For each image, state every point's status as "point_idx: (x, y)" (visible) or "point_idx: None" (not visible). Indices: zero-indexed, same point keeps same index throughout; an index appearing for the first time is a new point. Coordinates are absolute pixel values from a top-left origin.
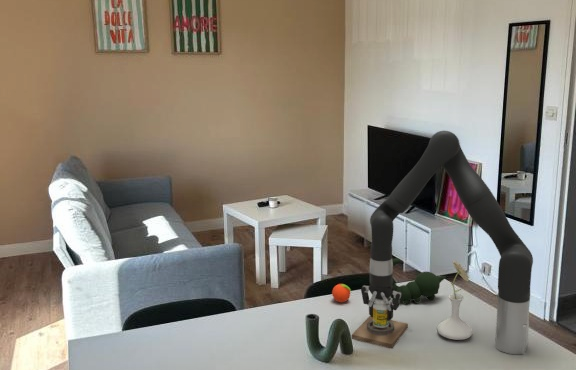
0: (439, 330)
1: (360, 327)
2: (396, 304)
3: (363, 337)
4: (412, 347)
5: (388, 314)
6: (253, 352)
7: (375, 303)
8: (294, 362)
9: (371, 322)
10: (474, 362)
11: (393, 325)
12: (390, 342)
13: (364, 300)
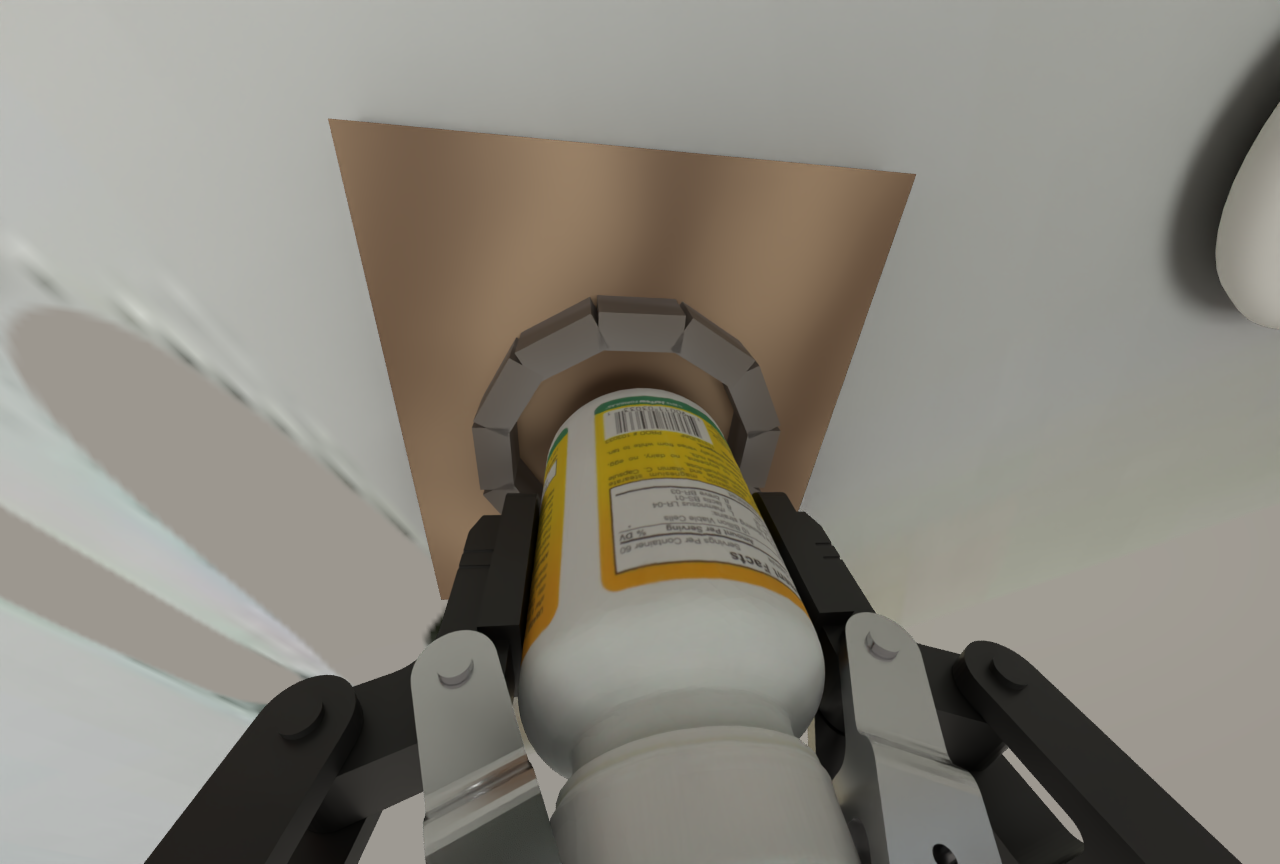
0: (1258, 264)
1: (432, 483)
2: (1038, 850)
3: None
4: (897, 498)
5: None
6: (96, 830)
7: (572, 770)
8: None
9: (511, 439)
10: (1248, 495)
11: (768, 414)
12: None
13: (315, 858)
